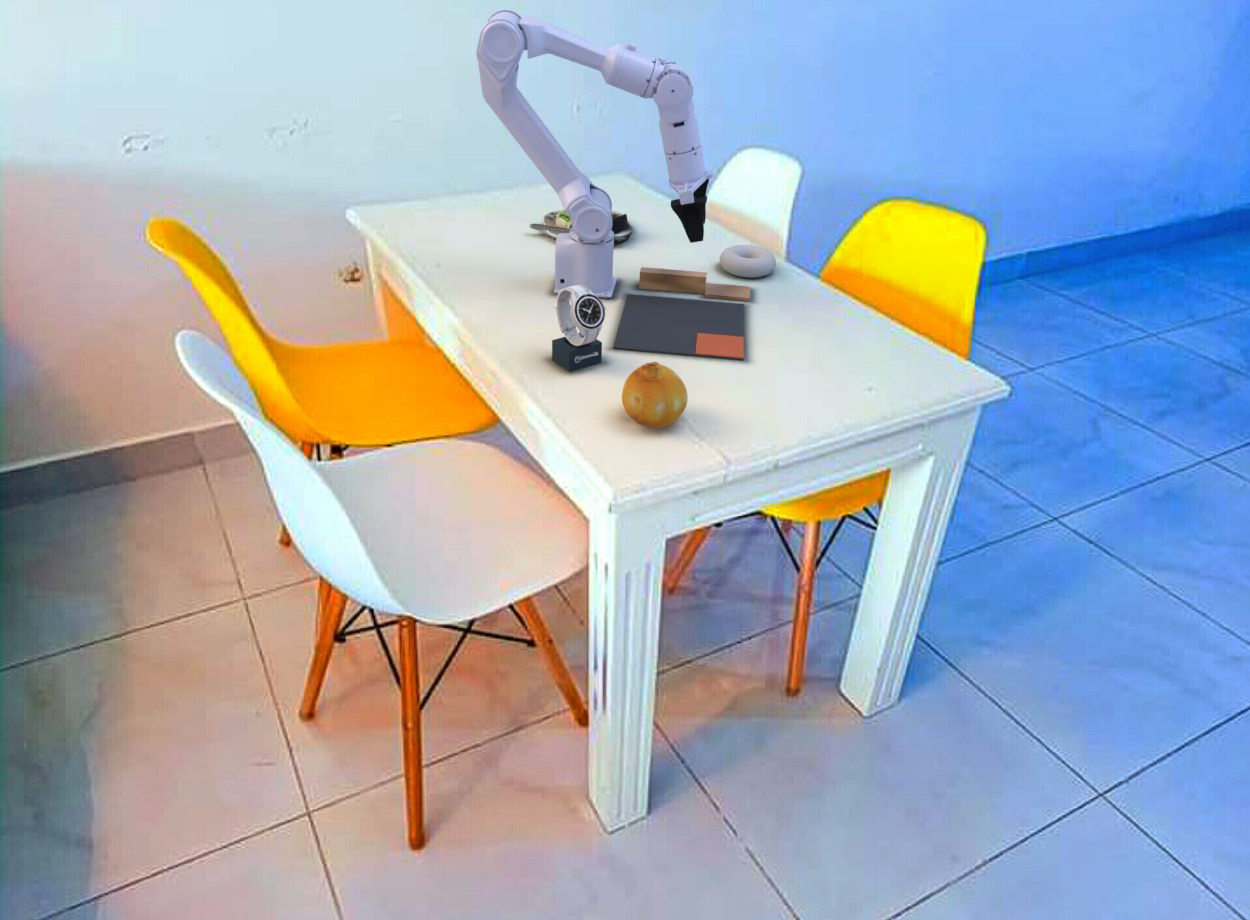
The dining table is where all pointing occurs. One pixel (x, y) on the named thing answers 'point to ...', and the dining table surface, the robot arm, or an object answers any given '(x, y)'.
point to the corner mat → (682, 327)
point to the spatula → (689, 284)
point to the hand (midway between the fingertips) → (697, 232)
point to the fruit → (654, 395)
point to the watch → (588, 319)
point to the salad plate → (562, 224)
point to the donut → (747, 261)
